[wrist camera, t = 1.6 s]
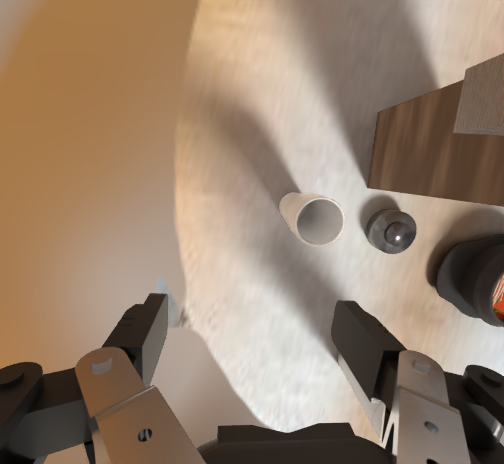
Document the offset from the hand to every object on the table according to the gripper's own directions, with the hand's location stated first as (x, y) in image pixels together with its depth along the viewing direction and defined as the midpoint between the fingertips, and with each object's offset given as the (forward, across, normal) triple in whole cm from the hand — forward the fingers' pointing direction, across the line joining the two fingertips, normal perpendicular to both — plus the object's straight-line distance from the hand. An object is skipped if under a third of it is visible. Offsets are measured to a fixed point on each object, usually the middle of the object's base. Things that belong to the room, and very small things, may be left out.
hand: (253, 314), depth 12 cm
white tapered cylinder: (+36, -11, 0) cm, 37 cm away
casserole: (+35, -54, +10) cm, 65 cm away
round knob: (+35, -30, +2) cm, 46 cm away
